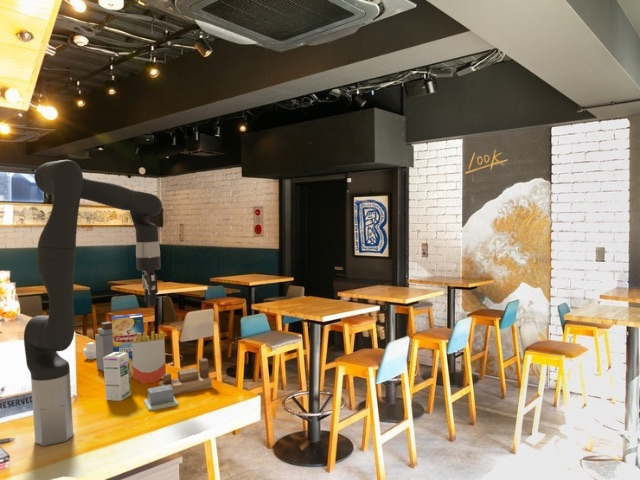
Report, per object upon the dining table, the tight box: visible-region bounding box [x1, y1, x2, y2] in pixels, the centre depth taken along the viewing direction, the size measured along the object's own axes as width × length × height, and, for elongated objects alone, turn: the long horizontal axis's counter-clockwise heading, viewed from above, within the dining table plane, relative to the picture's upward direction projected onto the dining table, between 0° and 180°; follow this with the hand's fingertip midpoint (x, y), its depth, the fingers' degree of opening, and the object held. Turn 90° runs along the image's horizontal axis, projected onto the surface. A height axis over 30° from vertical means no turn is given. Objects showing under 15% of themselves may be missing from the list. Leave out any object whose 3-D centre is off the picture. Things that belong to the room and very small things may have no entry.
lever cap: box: [146, 385, 175, 406], centre depth 161 cm, size 5×7×4 cm
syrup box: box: [103, 352, 132, 402], centre depth 166 cm, size 6×6×14 cm
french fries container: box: [132, 331, 167, 384], centre depth 183 cm, size 5×11×18 cm, turn 113°
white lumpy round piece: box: [82, 341, 96, 360], centre depth 214 cm, size 6×6×7 cm
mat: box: [143, 397, 180, 412], centre depth 161 cm, size 9×9×1 cm
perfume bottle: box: [94, 321, 113, 372], centre depth 199 cm, size 7×7×18 cm
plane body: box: [158, 357, 213, 395], centre depth 173 cm, size 7×16×9 cm, turn 118°
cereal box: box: [110, 312, 145, 378], centre depth 191 cm, size 7×11×22 cm, turn 112°
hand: (150, 303), depth 169 cm, fingers open, 8 cm apart
